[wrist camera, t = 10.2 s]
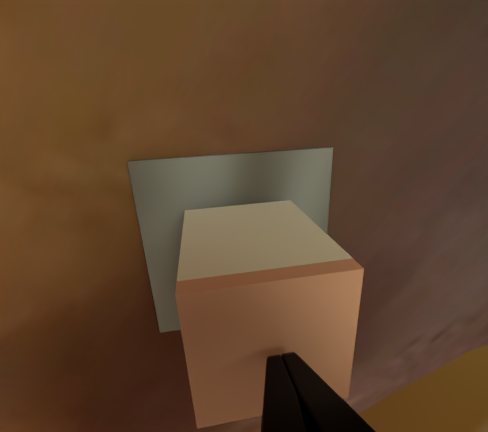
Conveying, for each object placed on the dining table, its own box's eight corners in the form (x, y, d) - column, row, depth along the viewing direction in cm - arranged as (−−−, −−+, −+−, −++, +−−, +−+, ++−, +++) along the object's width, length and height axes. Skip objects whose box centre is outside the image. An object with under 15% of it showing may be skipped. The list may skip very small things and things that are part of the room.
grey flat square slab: (330, 147, 14) (441, 175, 8) (319, 305, 18) (390, 415, 11) (128, 160, 13) (61, 208, 6) (160, 329, 16) (137, 468, 10)
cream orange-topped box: (290, 200, 14) (364, 268, 8) (289, 287, 16) (348, 398, 10) (184, 210, 13) (175, 294, 7) (196, 300, 15) (197, 428, 9)
